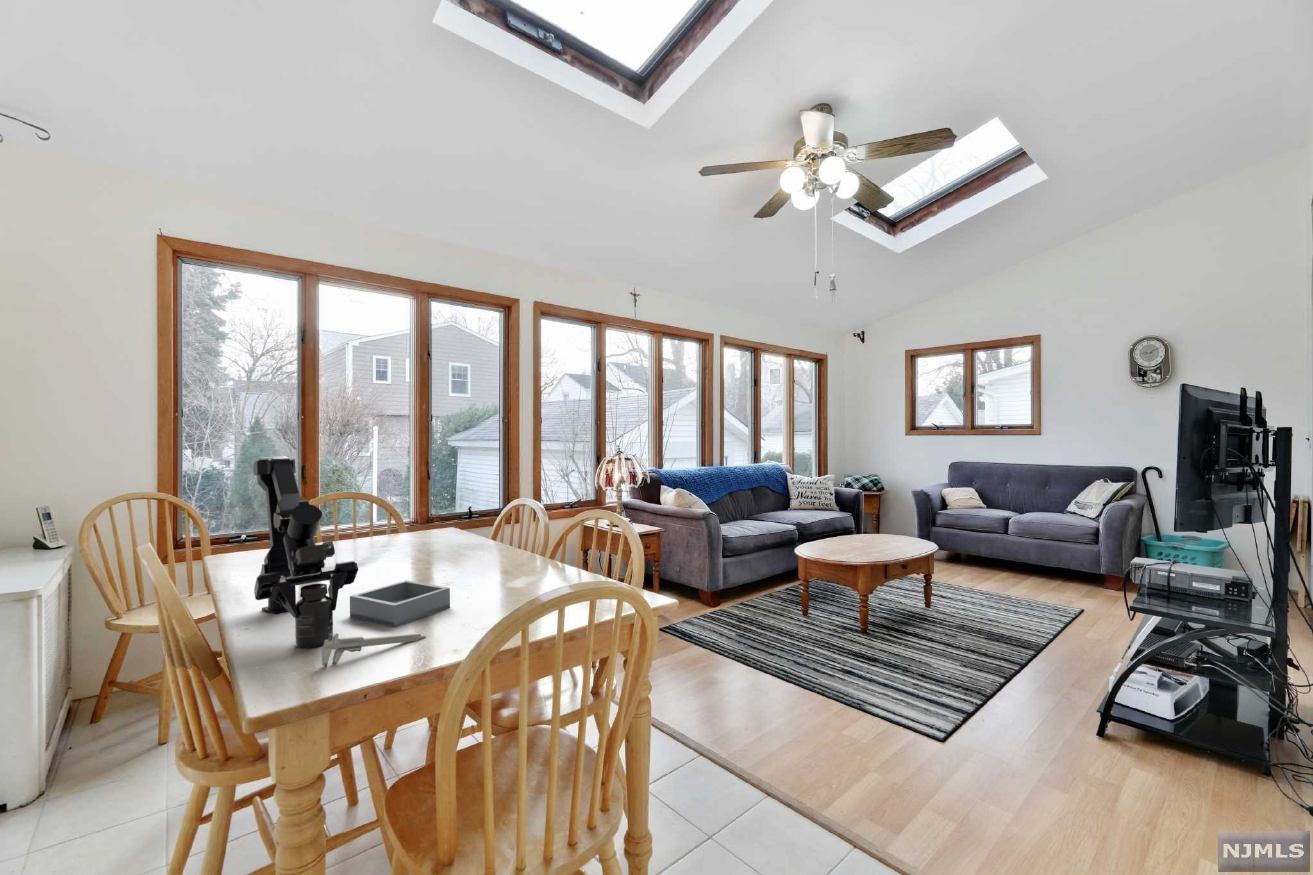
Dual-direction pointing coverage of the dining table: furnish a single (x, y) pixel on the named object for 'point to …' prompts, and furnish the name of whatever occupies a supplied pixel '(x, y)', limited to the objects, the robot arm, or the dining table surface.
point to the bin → (399, 603)
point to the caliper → (360, 644)
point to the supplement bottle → (313, 616)
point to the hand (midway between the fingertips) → (315, 613)
